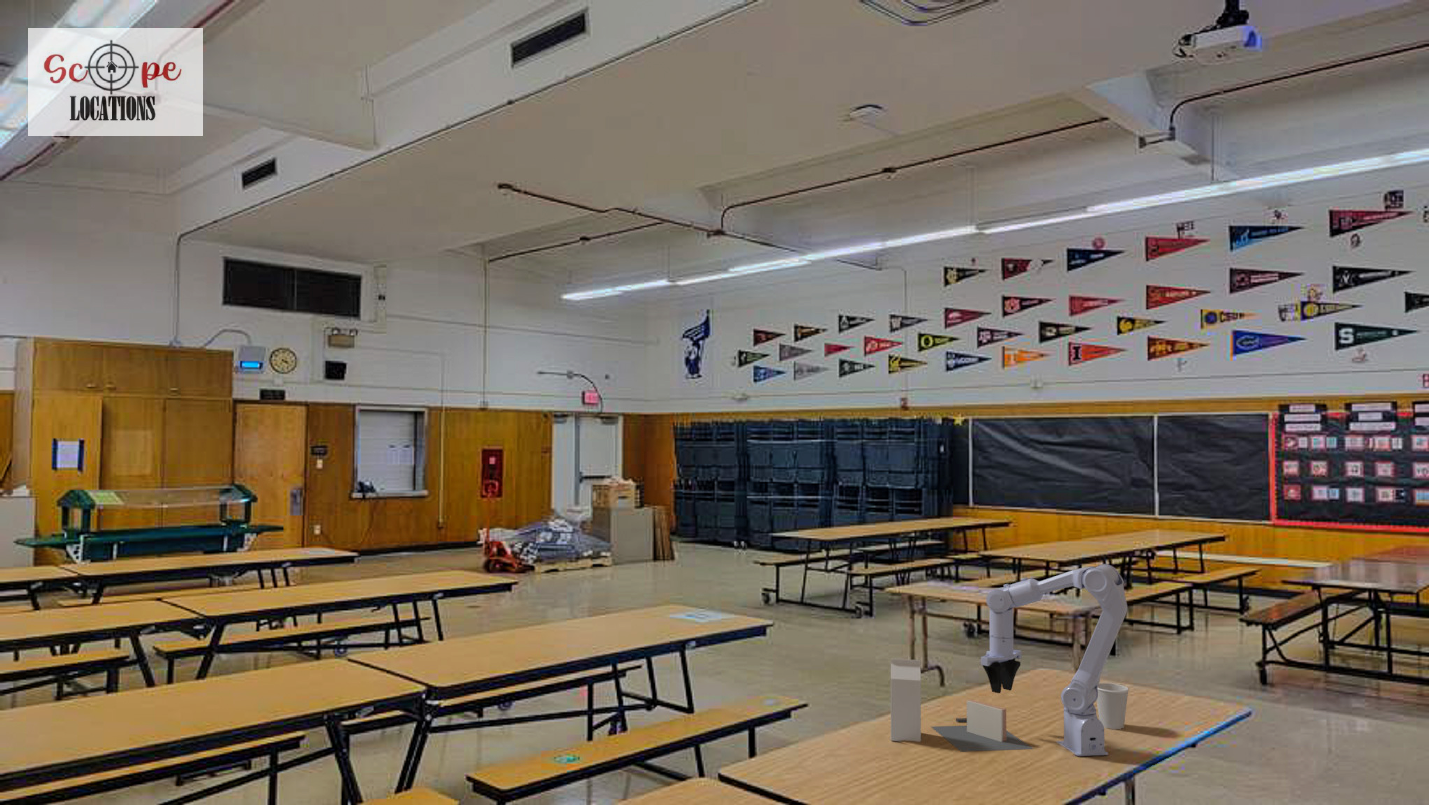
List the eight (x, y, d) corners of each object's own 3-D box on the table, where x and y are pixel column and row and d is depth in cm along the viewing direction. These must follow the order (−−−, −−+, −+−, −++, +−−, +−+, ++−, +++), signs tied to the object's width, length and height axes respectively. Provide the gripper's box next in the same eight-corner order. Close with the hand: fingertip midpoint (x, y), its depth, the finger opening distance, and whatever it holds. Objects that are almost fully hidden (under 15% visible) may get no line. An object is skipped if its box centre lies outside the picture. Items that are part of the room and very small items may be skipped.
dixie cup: (1122, 722, 236) (1122, 683, 237) (1134, 731, 228) (1134, 691, 229) (1089, 720, 237) (1089, 682, 238) (1100, 730, 229) (1099, 690, 229)
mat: (1033, 751, 212) (1033, 749, 212) (961, 753, 210) (961, 751, 210) (997, 726, 231) (997, 724, 231) (930, 728, 229) (930, 726, 229)
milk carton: (920, 743, 217) (920, 663, 218) (890, 741, 218) (890, 662, 219) (920, 734, 224) (920, 657, 225) (890, 732, 225) (891, 655, 226)
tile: (971, 730, 226) (971, 699, 227) (1006, 740, 218) (1006, 709, 219) (966, 731, 225) (966, 701, 225) (1001, 742, 217) (1001, 710, 218)
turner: (991, 718, 238) (991, 714, 238) (1003, 726, 231) (1003, 722, 231) (922, 720, 236) (922, 716, 236) (932, 728, 229) (932, 724, 229)
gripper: (1004, 630, 235) (1004, 683, 234) (970, 637, 226) (970, 692, 225) (1028, 635, 229) (1029, 689, 228) (994, 641, 220) (994, 698, 219)
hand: (1001, 691), depth 226 cm, fingers open, 4 cm apart
